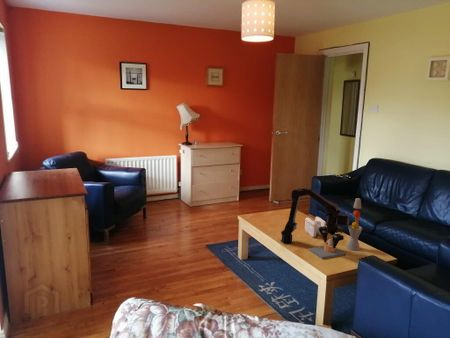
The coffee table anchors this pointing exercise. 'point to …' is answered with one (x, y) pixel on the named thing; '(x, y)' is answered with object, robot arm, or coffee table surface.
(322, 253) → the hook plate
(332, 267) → the coffee table surface
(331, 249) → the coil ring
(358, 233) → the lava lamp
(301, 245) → the coffee table surface
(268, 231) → the coffee table surface
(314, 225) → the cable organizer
